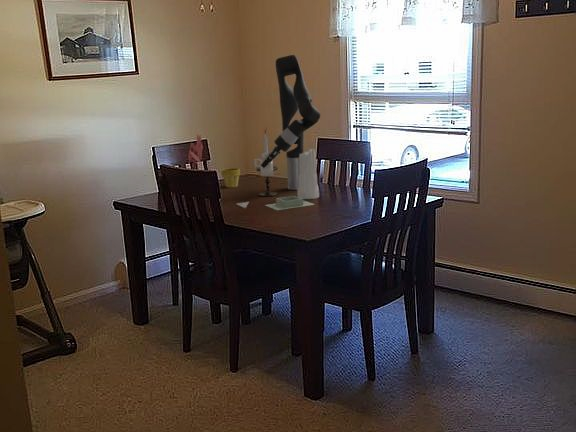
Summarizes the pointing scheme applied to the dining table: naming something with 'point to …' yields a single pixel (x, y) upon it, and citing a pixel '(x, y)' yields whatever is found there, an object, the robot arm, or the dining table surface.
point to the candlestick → (267, 181)
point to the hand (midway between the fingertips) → (262, 165)
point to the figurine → (198, 149)
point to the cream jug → (269, 168)
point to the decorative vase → (308, 176)
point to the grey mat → (243, 204)
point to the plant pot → (231, 177)
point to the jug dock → (288, 203)
